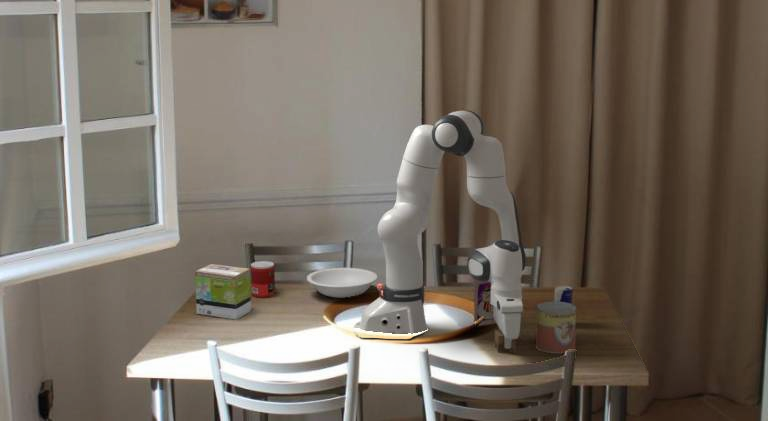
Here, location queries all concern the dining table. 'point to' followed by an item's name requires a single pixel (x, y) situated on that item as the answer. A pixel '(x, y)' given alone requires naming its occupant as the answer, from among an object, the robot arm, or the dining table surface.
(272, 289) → the canned food
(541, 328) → the canned food
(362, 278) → the soup bowl
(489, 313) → the greeting card
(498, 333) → the walnut block
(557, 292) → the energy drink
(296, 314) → the dining table surface
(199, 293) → the tea box
